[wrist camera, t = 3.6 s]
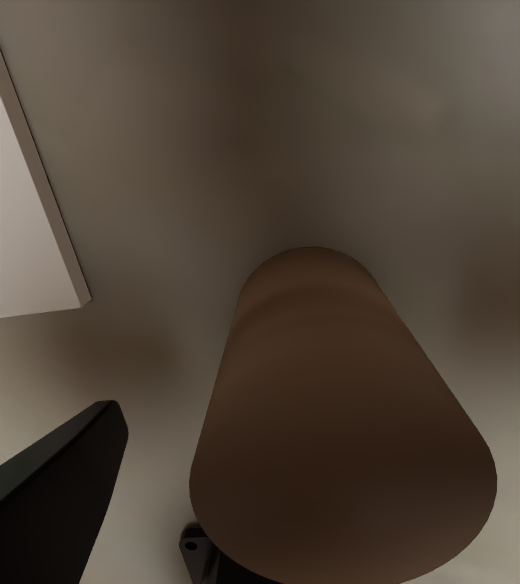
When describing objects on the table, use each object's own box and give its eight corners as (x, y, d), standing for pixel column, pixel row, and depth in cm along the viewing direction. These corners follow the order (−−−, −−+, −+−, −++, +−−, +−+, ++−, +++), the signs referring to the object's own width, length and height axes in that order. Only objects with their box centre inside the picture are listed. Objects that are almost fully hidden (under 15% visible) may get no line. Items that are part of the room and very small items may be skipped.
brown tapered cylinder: (385, 370, 11) (484, 587, 6) (249, 383, 12) (221, 595, 6) (380, 236, 10) (513, 359, 4) (224, 258, 10) (154, 393, 5)
